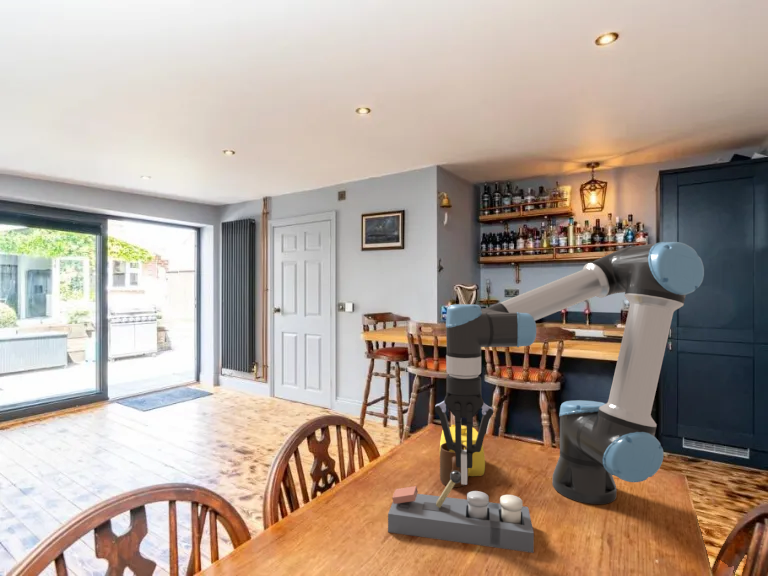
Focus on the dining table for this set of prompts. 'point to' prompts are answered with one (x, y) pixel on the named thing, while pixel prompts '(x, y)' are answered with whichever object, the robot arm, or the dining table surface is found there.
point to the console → (460, 523)
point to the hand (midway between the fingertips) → (464, 481)
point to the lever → (449, 487)
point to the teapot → (477, 457)
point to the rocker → (405, 495)
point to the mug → (449, 464)
